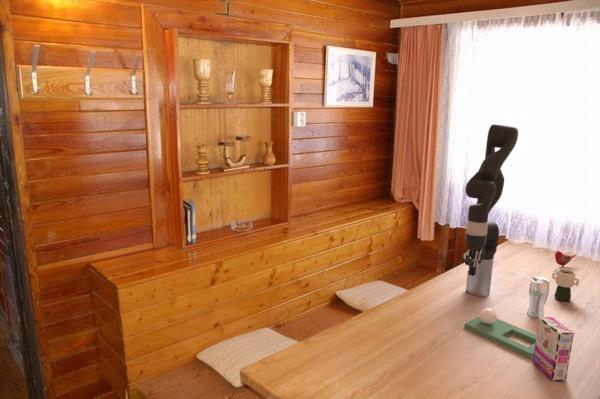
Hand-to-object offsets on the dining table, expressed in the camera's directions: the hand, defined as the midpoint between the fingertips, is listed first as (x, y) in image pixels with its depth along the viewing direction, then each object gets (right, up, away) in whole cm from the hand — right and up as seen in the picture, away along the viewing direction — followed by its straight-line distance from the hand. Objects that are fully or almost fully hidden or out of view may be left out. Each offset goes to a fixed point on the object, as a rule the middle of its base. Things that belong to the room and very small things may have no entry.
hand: (471, 274), depth 181 cm
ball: (+5, -15, -4) cm, 16 cm away
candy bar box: (+14, -27, -30) cm, 42 cm away
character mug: (+49, -15, +25) cm, 57 cm away
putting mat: (+9, -21, -9) cm, 25 cm away
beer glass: (+29, -18, +9) cm, 36 cm away
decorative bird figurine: (+71, -6, +63) cm, 95 cm away
